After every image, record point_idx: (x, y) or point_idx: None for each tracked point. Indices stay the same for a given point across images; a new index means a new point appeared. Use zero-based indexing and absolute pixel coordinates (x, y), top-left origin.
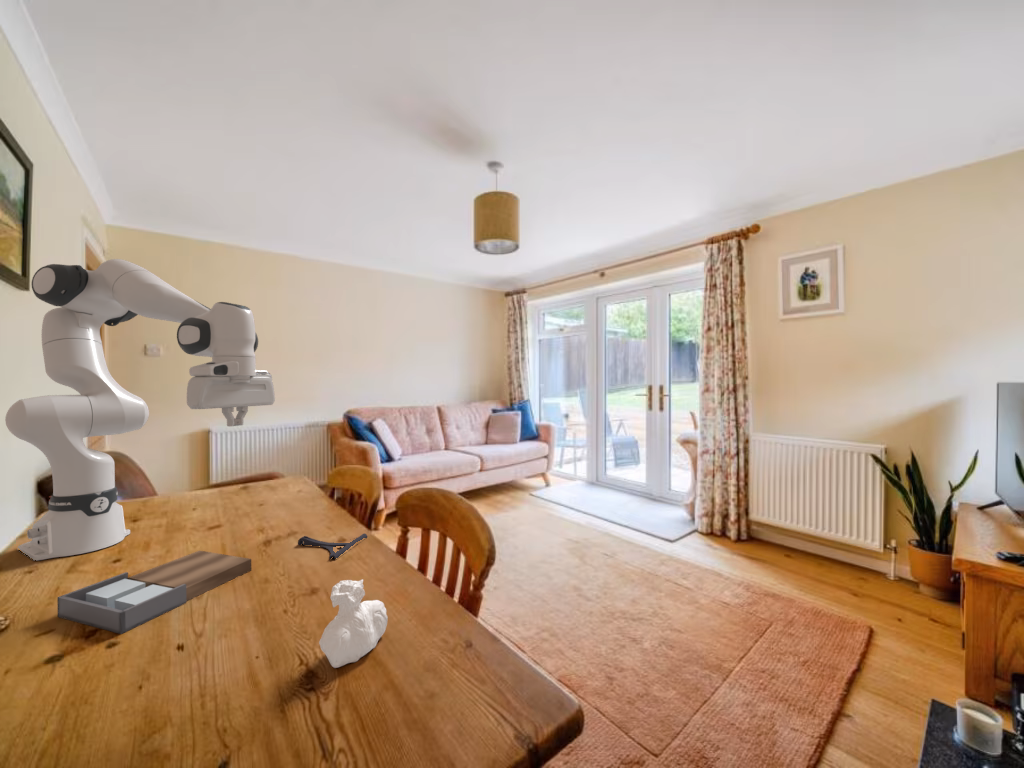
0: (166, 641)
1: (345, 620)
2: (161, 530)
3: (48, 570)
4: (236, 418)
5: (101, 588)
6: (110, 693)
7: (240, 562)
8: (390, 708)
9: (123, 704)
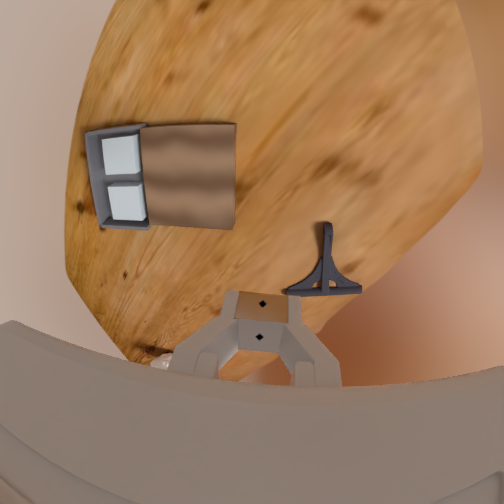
0: (122, 260)
1: None
2: None
3: None
4: (267, 339)
5: (111, 141)
6: (92, 275)
7: (218, 225)
8: None
9: (94, 288)
